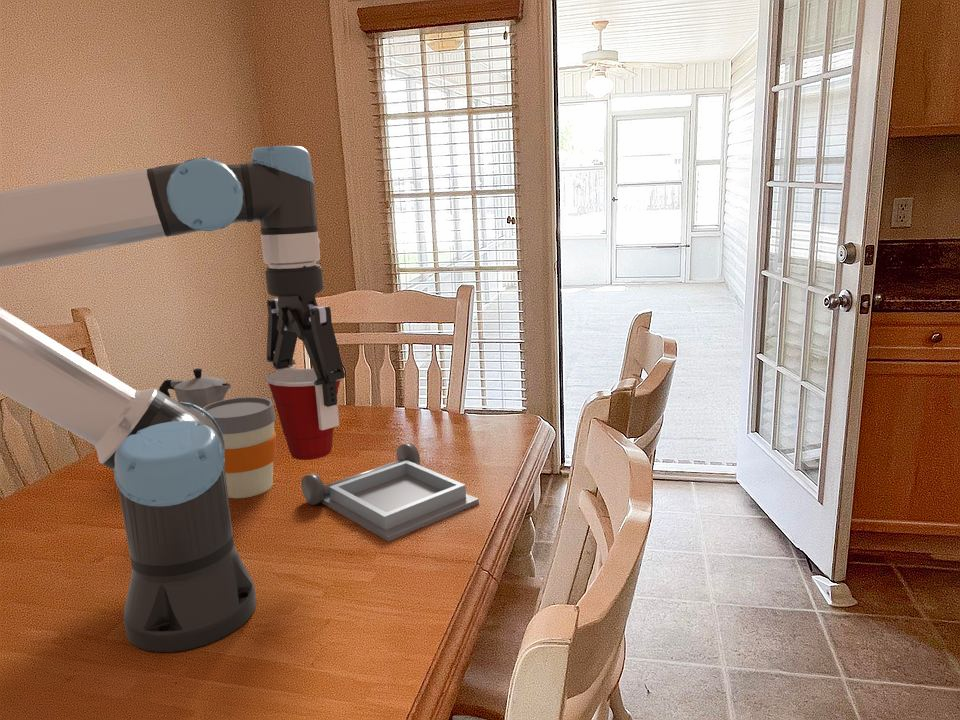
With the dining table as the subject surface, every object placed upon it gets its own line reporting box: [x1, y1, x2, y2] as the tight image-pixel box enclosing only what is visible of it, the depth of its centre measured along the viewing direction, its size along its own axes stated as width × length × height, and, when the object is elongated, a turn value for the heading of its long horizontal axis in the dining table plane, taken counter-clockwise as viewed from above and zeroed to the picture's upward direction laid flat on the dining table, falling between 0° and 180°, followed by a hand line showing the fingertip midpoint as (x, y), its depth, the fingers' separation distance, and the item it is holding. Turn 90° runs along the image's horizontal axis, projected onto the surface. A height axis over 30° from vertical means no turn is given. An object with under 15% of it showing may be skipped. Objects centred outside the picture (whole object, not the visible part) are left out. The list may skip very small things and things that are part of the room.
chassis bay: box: [300, 442, 480, 543], centre depth 119 cm, size 21×23×5 cm
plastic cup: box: [264, 368, 342, 461], centre depth 102 cm, size 11×11×12 cm
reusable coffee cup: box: [202, 396, 277, 499], centre depth 125 cm, size 13×12×15 cm
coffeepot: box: [158, 368, 232, 408], centre depth 142 cm, size 15×9×18 cm, turn 79°
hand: (309, 418), depth 103 cm, fingers closed on plastic cup, 11 cm apart
